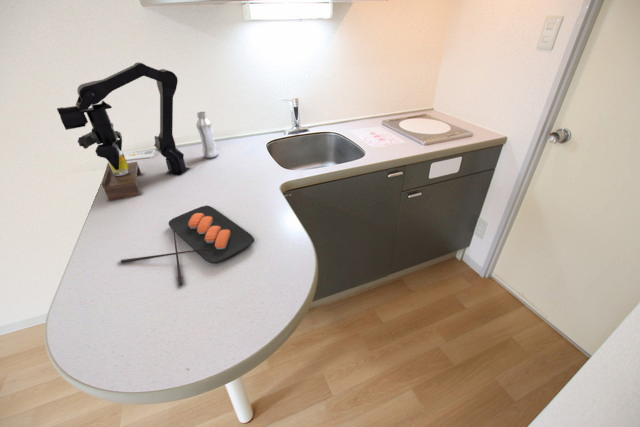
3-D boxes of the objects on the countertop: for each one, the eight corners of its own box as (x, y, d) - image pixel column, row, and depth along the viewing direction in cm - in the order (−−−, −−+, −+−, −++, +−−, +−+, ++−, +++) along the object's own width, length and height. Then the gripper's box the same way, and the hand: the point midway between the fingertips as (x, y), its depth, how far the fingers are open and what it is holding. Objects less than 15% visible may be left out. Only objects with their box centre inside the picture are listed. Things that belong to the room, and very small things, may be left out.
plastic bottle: (221, 154, 145) (212, 111, 134) (211, 160, 140) (201, 115, 129) (211, 152, 147) (201, 110, 136) (201, 158, 142) (189, 114, 131)
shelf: (114, 178, 126) (107, 162, 123) (141, 173, 130) (135, 158, 126) (109, 201, 111) (101, 183, 107) (140, 194, 114) (133, 177, 111)
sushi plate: (259, 245, 88) (257, 234, 86) (151, 306, 70) (146, 294, 68) (208, 208, 105) (206, 198, 103) (112, 250, 88) (106, 239, 86)
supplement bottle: (132, 173, 118) (122, 147, 112) (116, 178, 114) (105, 151, 109) (127, 168, 121) (117, 143, 115) (112, 173, 118) (100, 148, 112)
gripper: (79, 119, 112) (97, 160, 120) (68, 135, 97) (89, 179, 106) (114, 115, 115) (129, 154, 124) (108, 129, 101) (126, 173, 109)
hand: (118, 164), depth 116 cm, fingers open, 9 cm apart
